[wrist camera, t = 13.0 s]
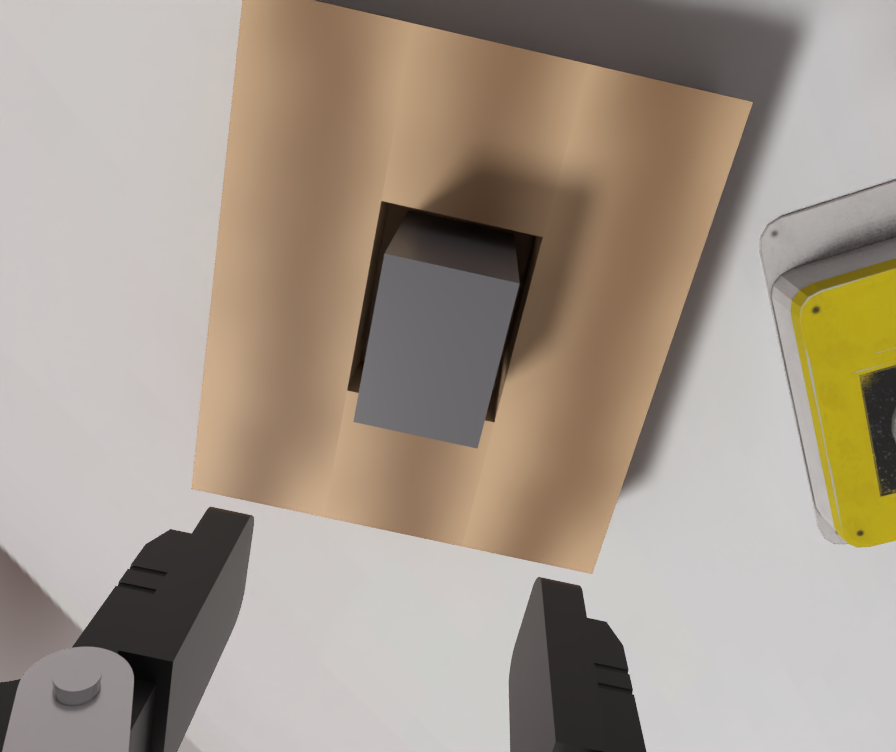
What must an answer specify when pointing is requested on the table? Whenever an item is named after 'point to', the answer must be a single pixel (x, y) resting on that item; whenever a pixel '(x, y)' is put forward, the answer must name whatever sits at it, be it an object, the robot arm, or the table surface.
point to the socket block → (465, 200)
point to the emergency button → (841, 355)
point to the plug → (438, 329)
